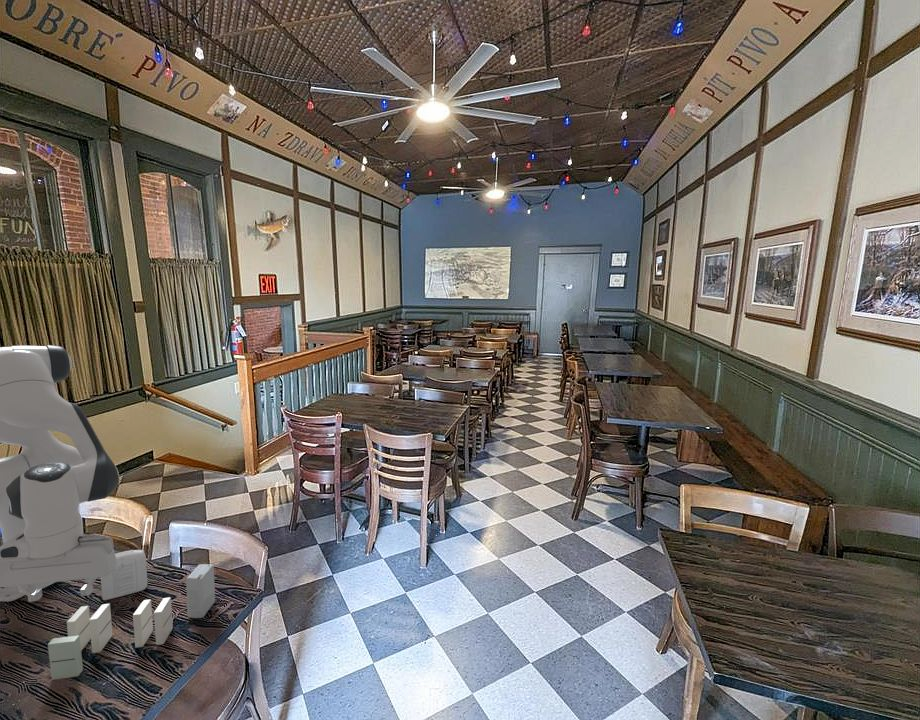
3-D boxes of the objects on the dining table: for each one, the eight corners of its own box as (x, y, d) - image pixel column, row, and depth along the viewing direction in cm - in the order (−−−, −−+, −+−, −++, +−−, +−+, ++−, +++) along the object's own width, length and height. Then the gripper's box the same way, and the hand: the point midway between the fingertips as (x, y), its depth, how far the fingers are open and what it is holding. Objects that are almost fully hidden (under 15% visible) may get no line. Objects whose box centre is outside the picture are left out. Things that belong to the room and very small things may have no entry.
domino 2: (92, 653, 98) (89, 619, 96) (105, 636, 103) (102, 604, 101) (100, 652, 98) (97, 618, 97) (112, 635, 103) (109, 603, 102)
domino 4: (156, 645, 101) (153, 612, 99) (165, 629, 106) (163, 598, 104) (163, 644, 101) (161, 611, 100) (172, 628, 106) (170, 597, 105)
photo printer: (148, 581, 122) (145, 543, 120) (147, 590, 119) (144, 551, 117) (103, 593, 117) (100, 554, 115) (100, 603, 113) (97, 562, 111)
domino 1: (70, 655, 97) (66, 622, 95) (84, 638, 102) (81, 606, 100) (78, 654, 97) (74, 621, 96) (91, 637, 102) (88, 605, 101)
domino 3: (135, 647, 100) (132, 614, 98) (145, 631, 105) (143, 600, 103) (142, 646, 100) (140, 614, 99) (153, 630, 105) (151, 599, 104)
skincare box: (200, 601, 115) (198, 563, 113) (216, 602, 115) (214, 563, 114) (186, 618, 109) (184, 578, 107) (203, 619, 109) (201, 578, 108)
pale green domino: (78, 676, 92) (74, 641, 91) (51, 679, 91) (47, 644, 89) (83, 669, 93) (79, 635, 92) (57, 673, 92) (53, 638, 91)
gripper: (120, 526, 93) (124, 581, 95) (10, 534, 88) (17, 592, 90) (103, 542, 87) (108, 600, 89) (-17, 552, 82) (-8, 613, 84)
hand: (61, 596), depth 89 cm, fingers open, 8 cm apart
